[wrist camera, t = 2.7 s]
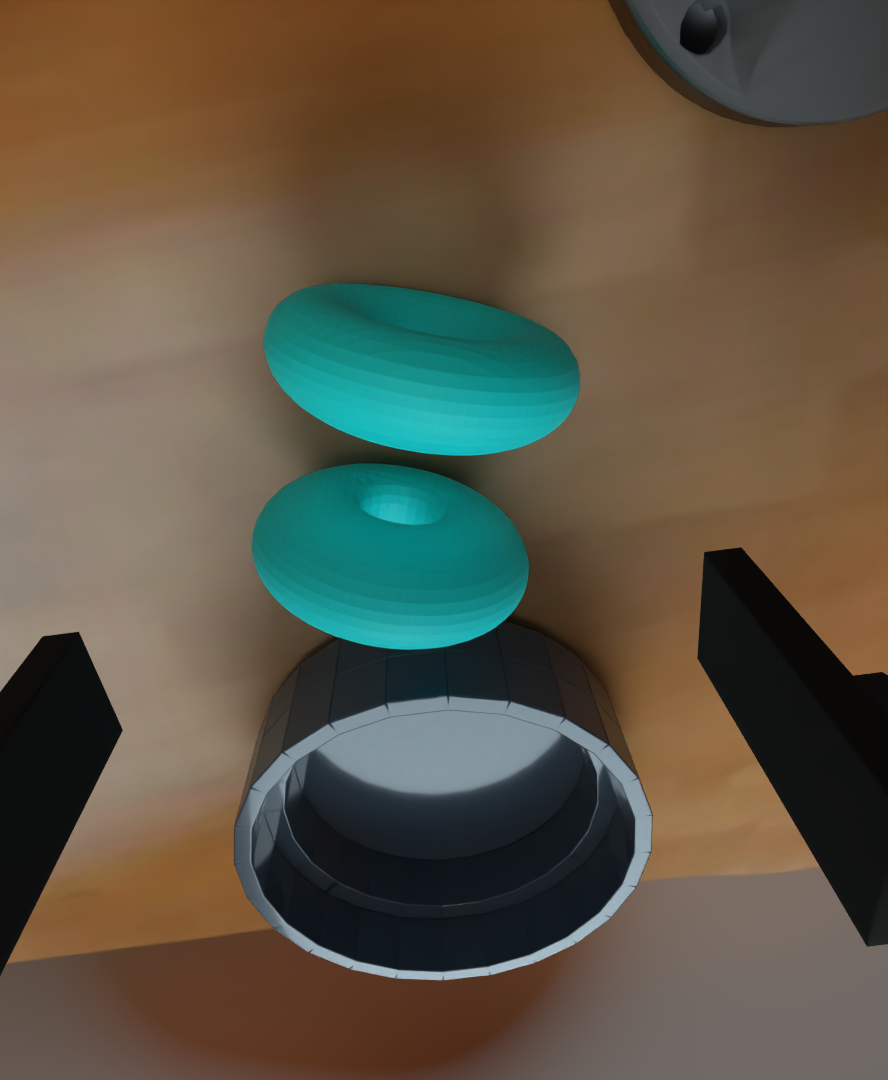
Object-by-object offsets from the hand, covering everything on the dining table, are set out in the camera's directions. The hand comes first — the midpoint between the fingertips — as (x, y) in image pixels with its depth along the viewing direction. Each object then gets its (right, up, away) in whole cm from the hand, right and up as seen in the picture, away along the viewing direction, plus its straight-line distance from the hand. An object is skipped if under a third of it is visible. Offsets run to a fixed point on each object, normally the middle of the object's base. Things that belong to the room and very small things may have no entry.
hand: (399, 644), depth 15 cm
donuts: (0, +7, +14) cm, 16 cm away
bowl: (+1, -9, +22) cm, 24 cm away
